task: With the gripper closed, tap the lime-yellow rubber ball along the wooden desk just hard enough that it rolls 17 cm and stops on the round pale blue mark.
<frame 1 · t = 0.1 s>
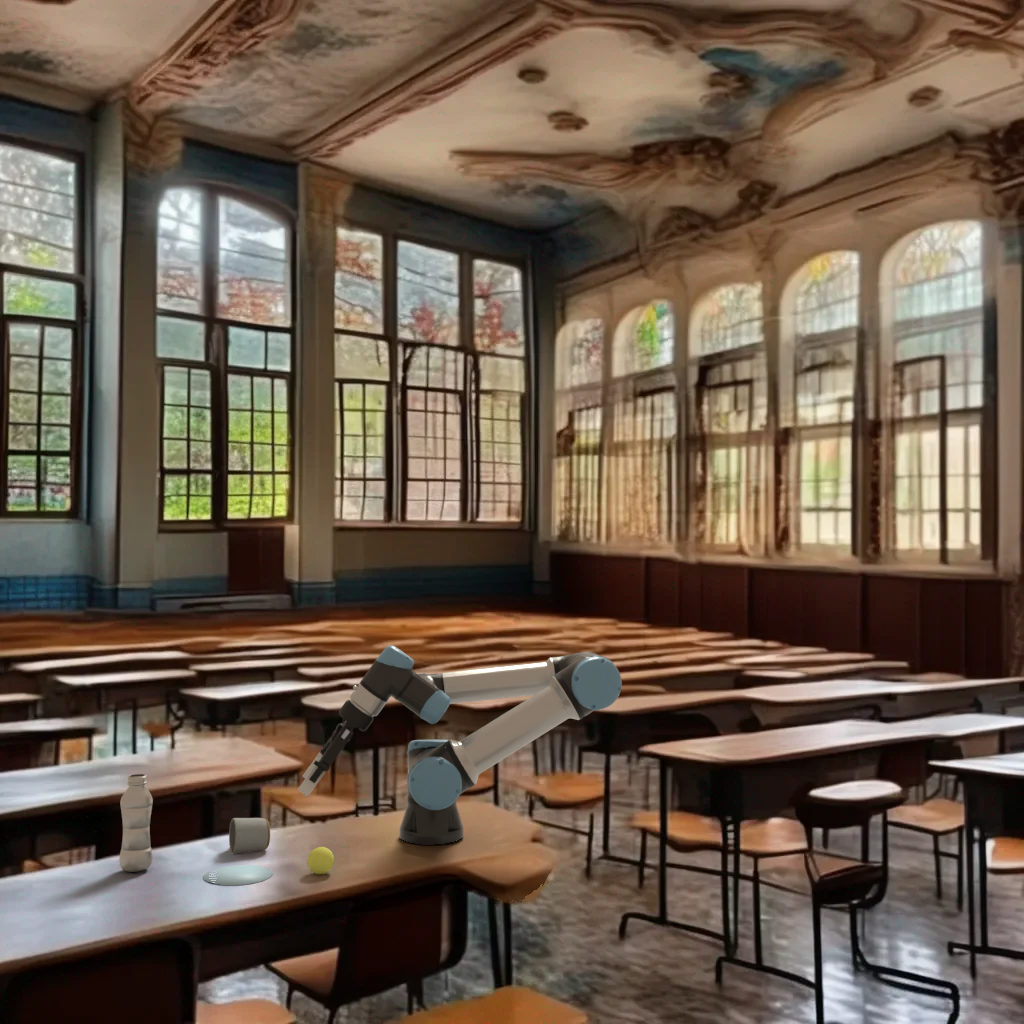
hand: (304, 786, 248), 15 cm above the table, tool tilted 35°, fingers open, 13 cm apart
ball: (320, 860, 233), on the table
plastic bottle: (135, 871, 234), on the table
ceramic mug: (246, 851, 251), on the table
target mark: (238, 875, 232), on the table
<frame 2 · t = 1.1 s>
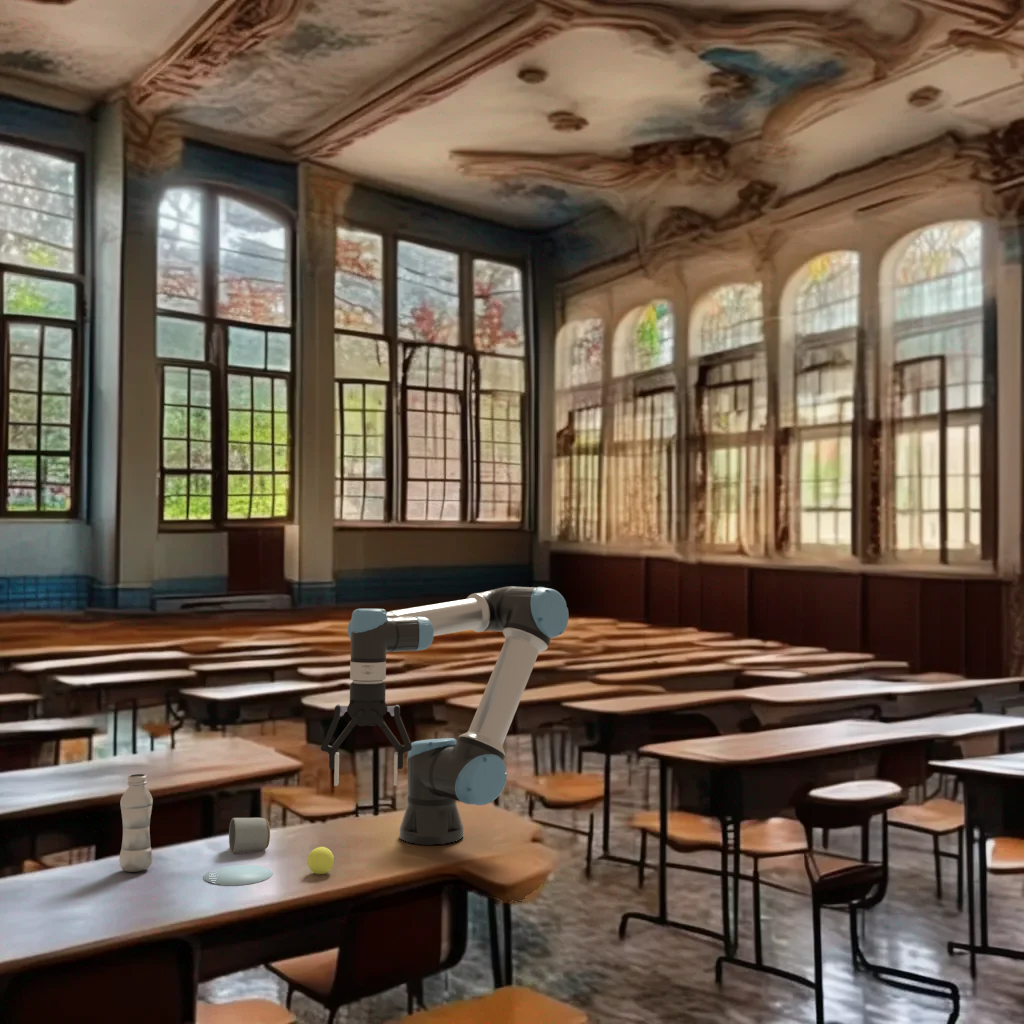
hand: (366, 784, 235), 18 cm above the table, tool pointing down, fingers open, 12 cm apart
nothing on the table moved.
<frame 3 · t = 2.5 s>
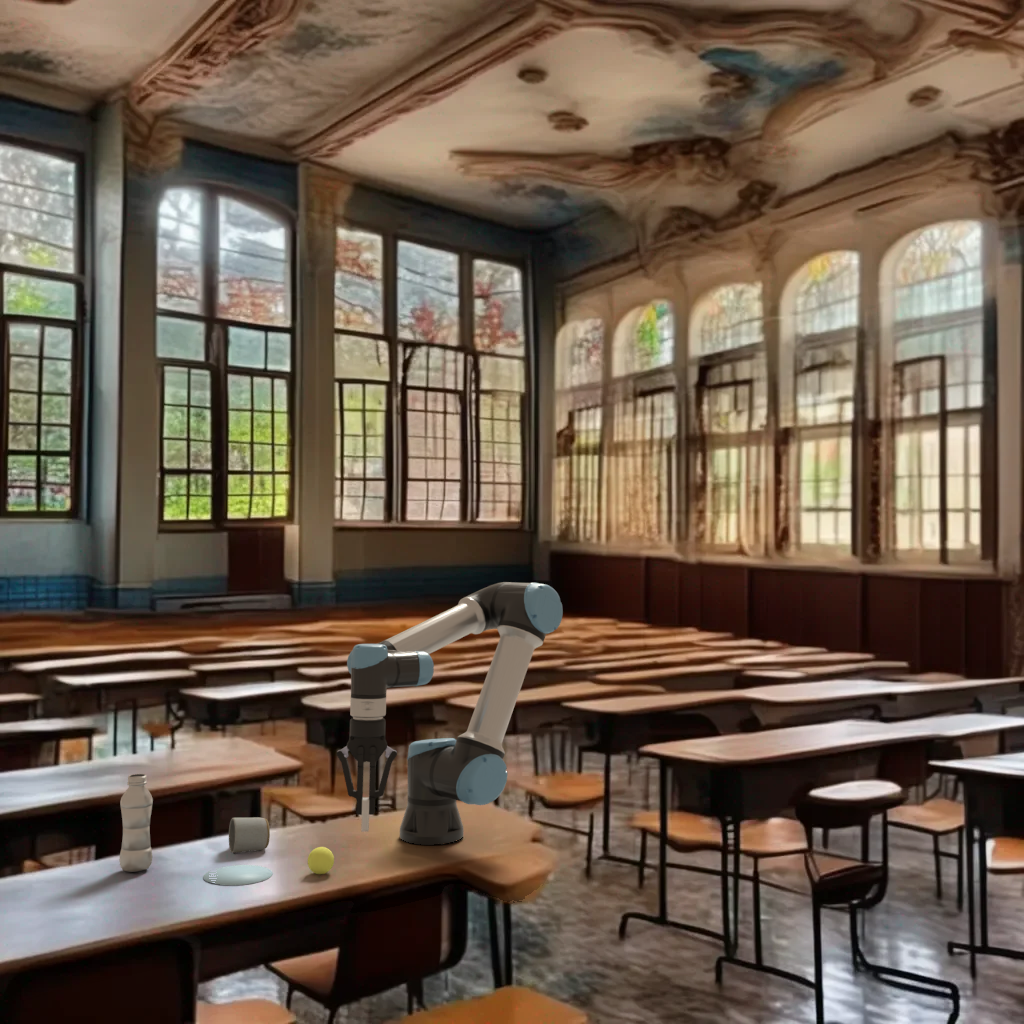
hand: (365, 829, 234), 9 cm above the table, tool pointing down, fingers closed
nothing on the table moved.
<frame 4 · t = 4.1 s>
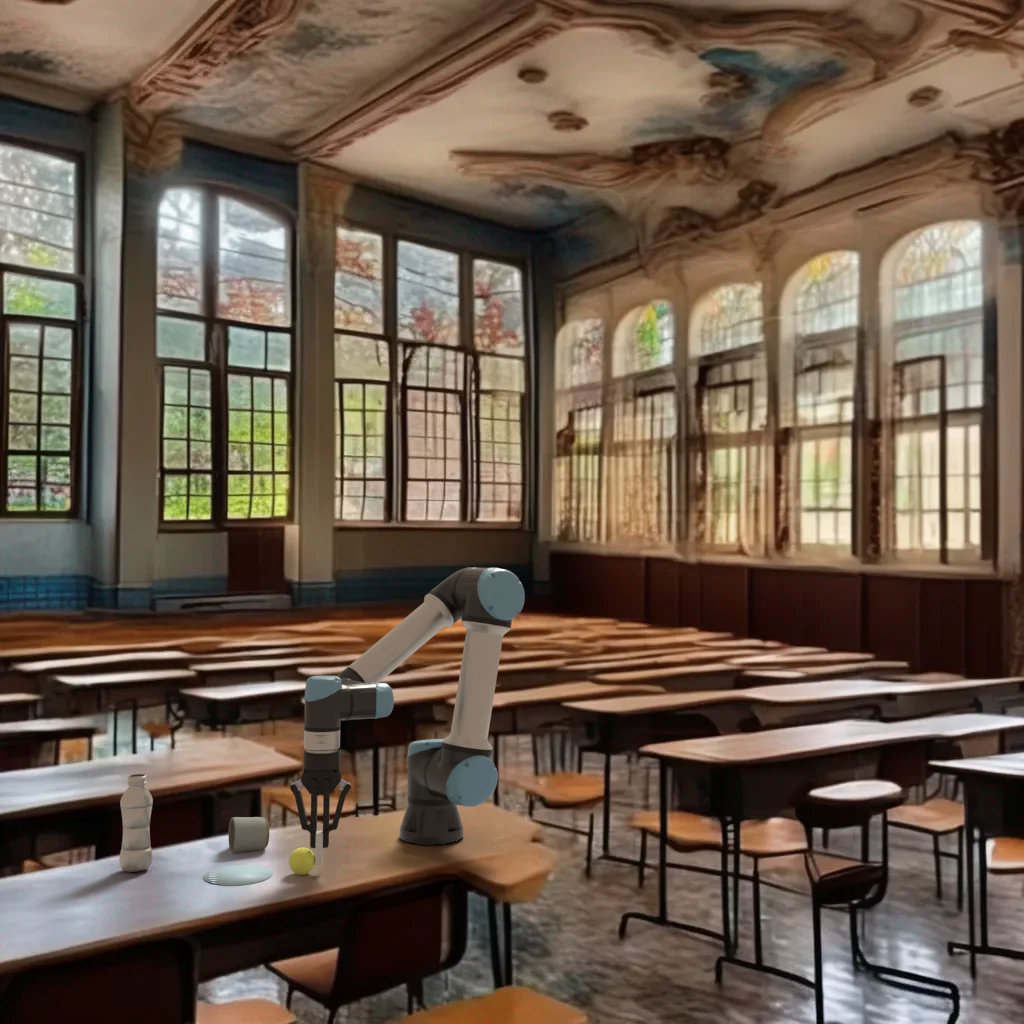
hand: (319, 863, 233), 2 cm above the table, tool pointing down, fingers closed
ball: (302, 861, 233), on the table
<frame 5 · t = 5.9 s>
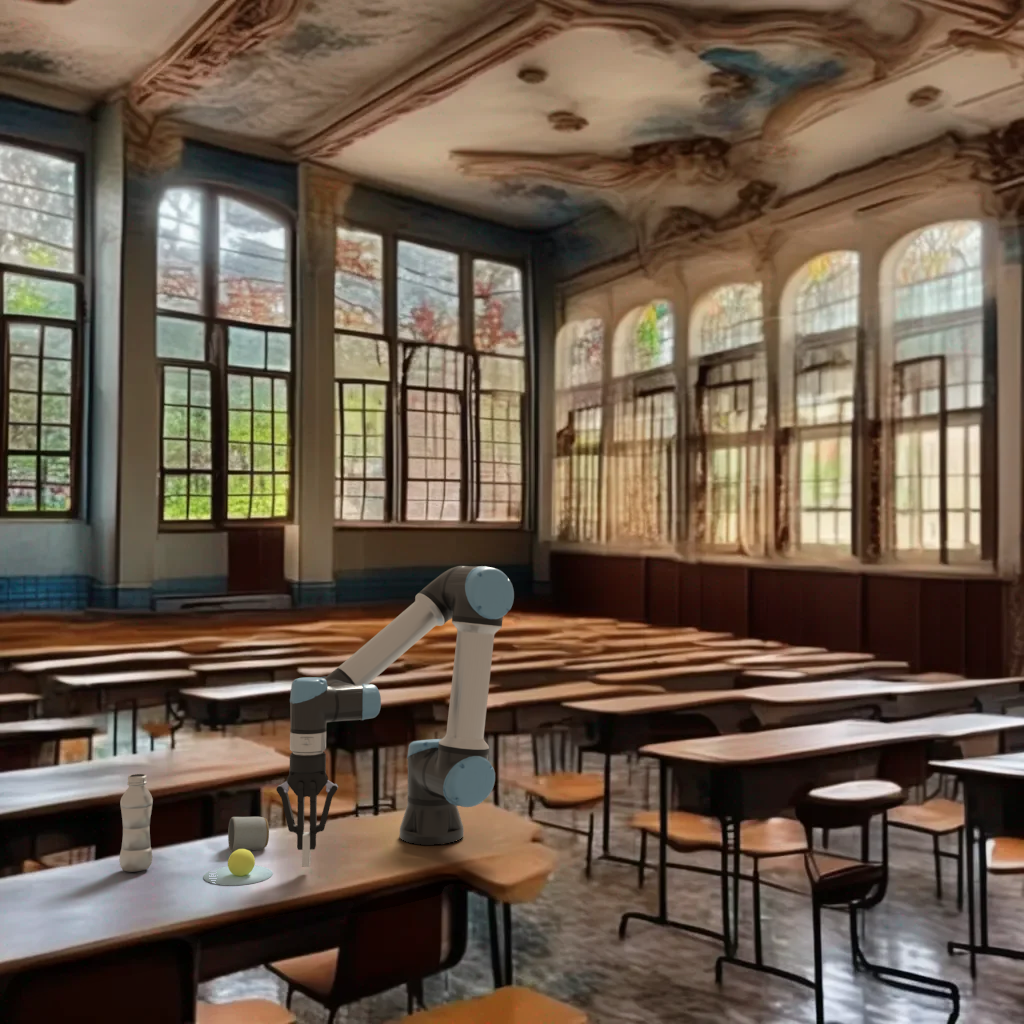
hand: (306, 864, 233), 2 cm above the table, tool pointing down, fingers closed
ball: (241, 862, 231), on the table
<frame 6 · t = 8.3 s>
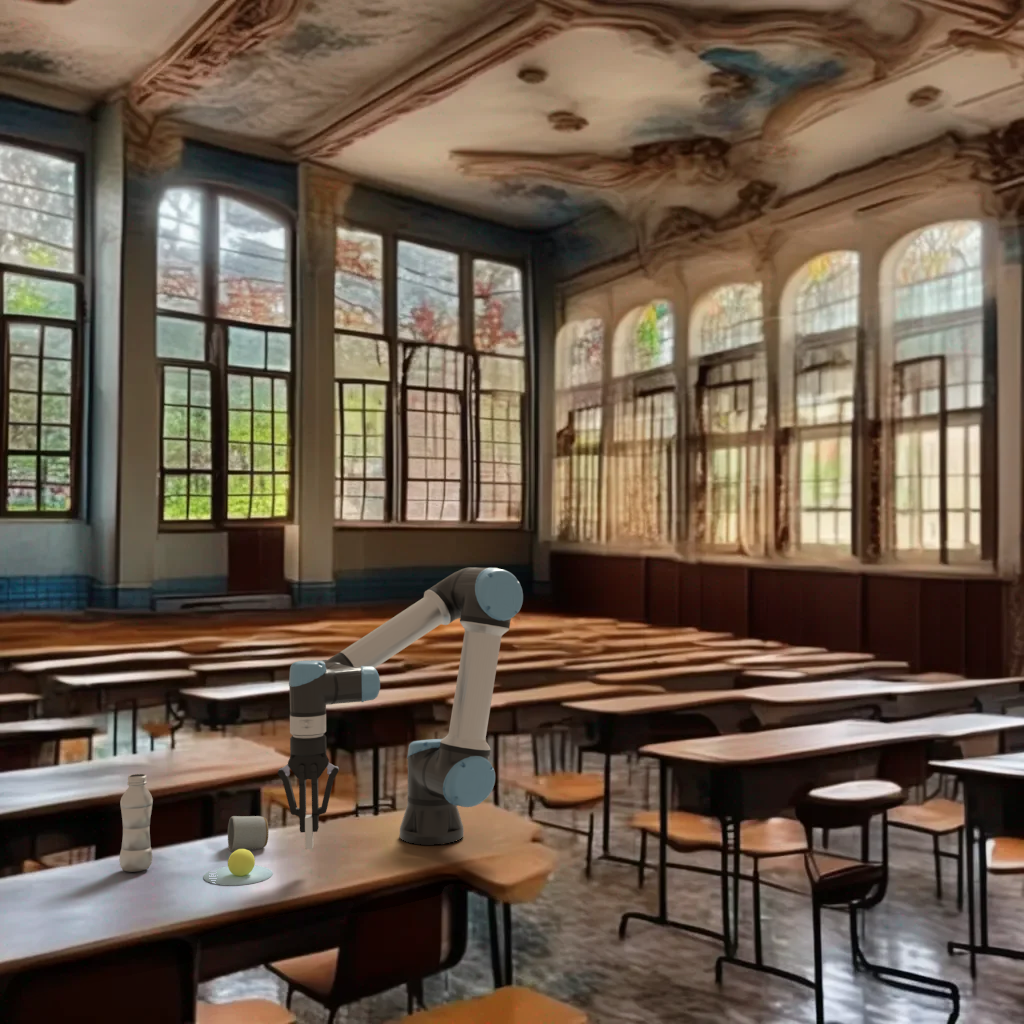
hand: (309, 847, 233), 5 cm above the table, tool pointing down, fingers closed
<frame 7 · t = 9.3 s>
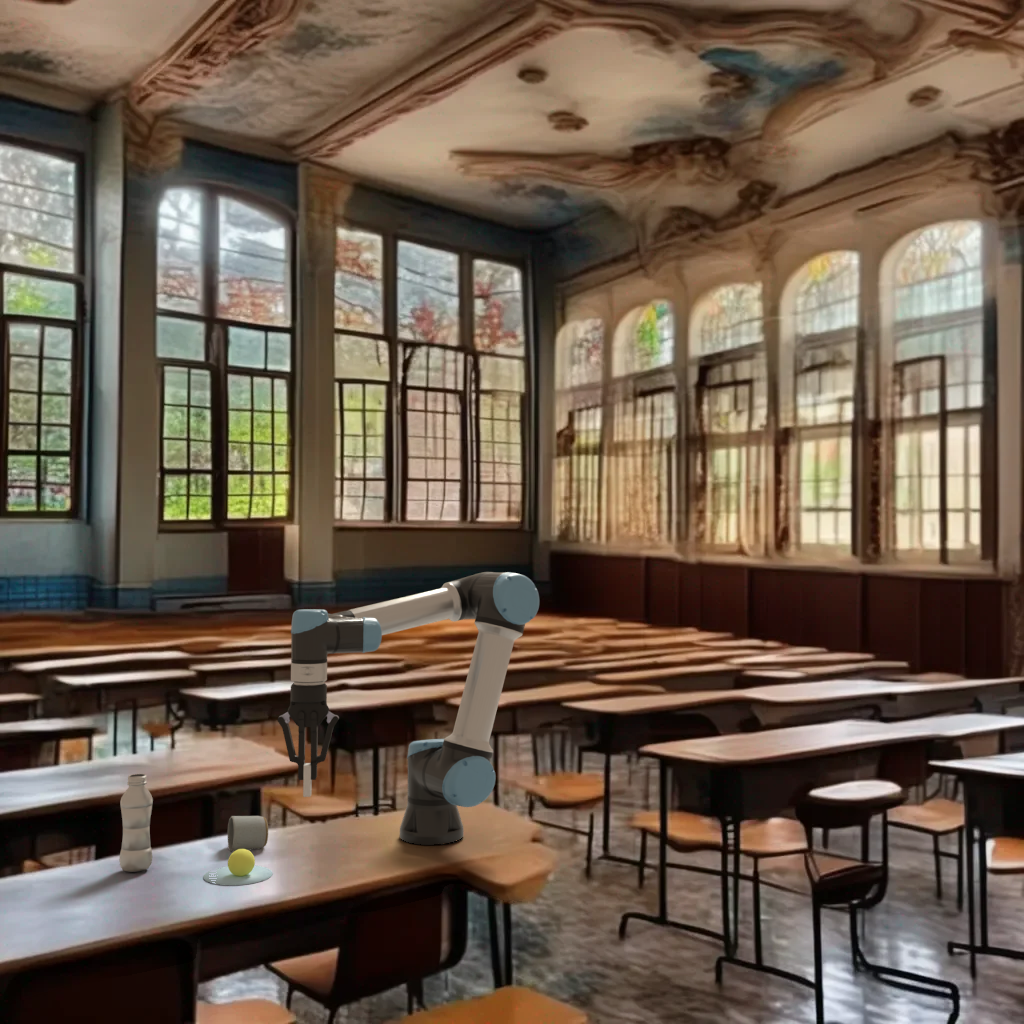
hand: (307, 795, 233), 16 cm above the table, tool pointing down, fingers closed
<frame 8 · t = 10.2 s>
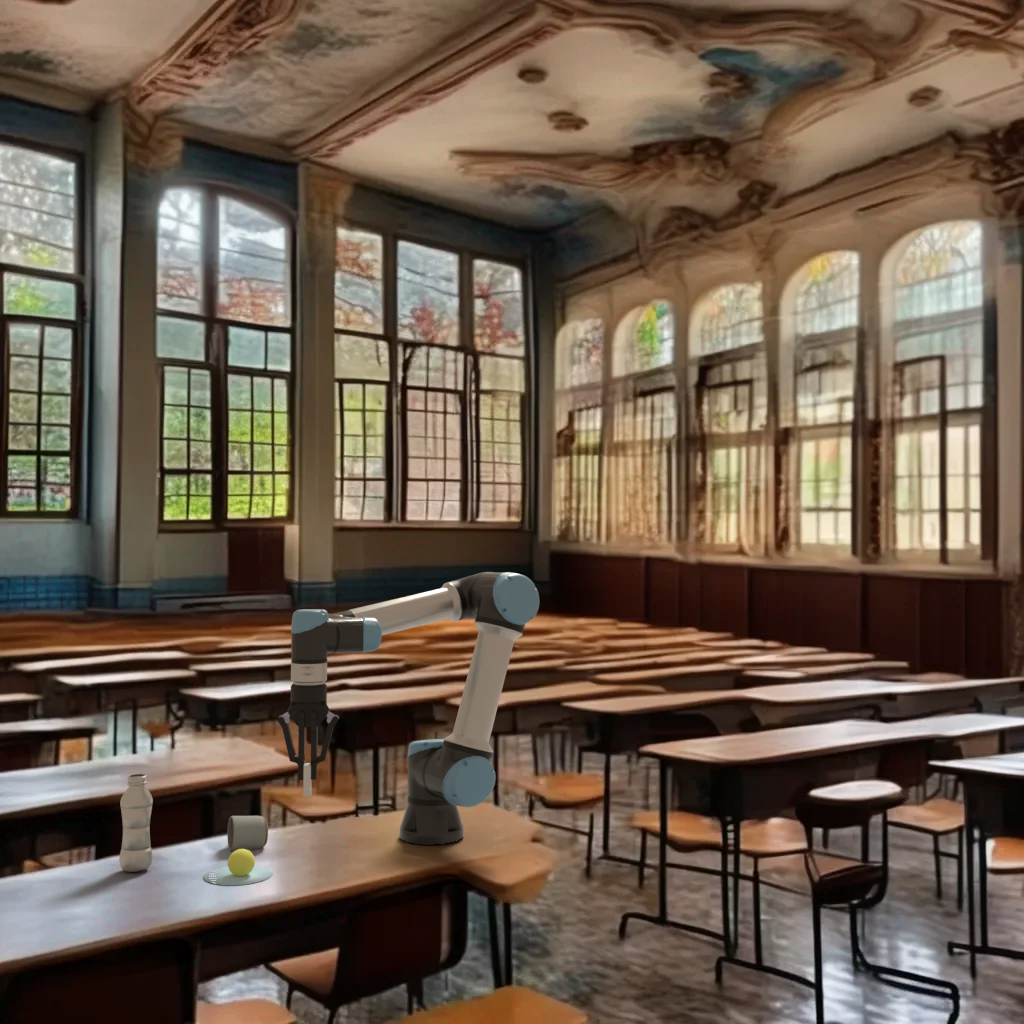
hand: (307, 795, 233), 16 cm above the table, tool pointing down, fingers closed
at the end: ball 0.7 cm from the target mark (horizontally); ball at rest at the end (0.0 cm/s); ball moved 16.4 cm from its start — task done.
